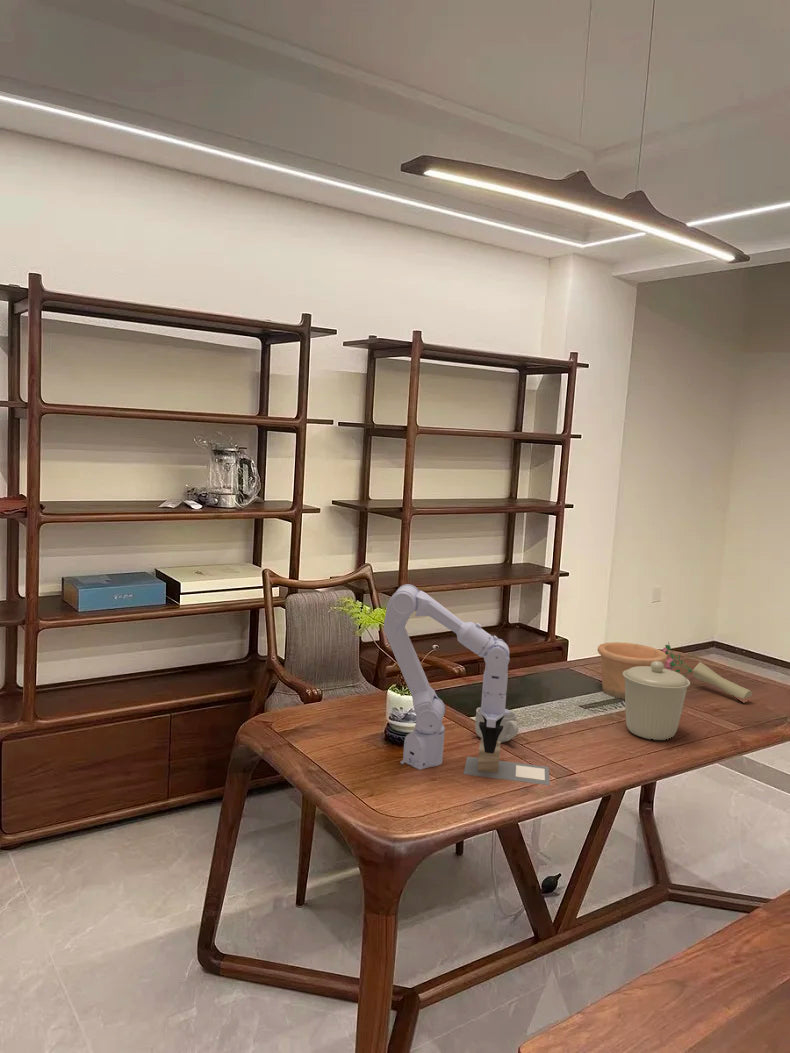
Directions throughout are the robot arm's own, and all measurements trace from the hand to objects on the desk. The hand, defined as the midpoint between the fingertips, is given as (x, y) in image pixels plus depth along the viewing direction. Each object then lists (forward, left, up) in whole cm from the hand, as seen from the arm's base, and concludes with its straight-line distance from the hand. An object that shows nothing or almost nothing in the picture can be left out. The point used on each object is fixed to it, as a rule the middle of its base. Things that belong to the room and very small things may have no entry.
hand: (490, 746), depth 193 cm
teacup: (+17, +12, -7) cm, 21 cm away
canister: (+60, -8, -7) cm, 61 cm away
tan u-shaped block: (0, 0, -5) cm, 5 cm away
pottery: (+89, +17, -7) cm, 91 cm away
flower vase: (+116, +5, -7) cm, 116 cm away
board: (+3, -3, -6) cm, 8 cm away
